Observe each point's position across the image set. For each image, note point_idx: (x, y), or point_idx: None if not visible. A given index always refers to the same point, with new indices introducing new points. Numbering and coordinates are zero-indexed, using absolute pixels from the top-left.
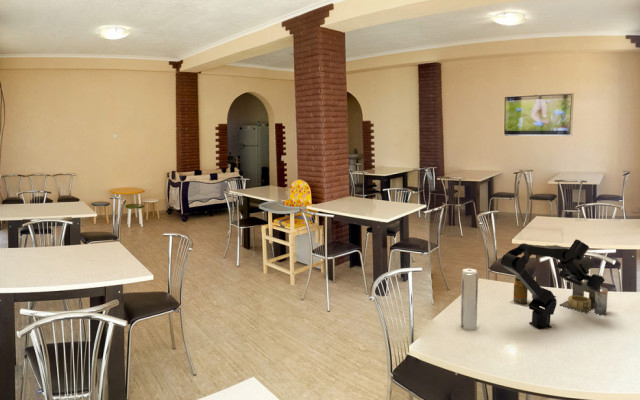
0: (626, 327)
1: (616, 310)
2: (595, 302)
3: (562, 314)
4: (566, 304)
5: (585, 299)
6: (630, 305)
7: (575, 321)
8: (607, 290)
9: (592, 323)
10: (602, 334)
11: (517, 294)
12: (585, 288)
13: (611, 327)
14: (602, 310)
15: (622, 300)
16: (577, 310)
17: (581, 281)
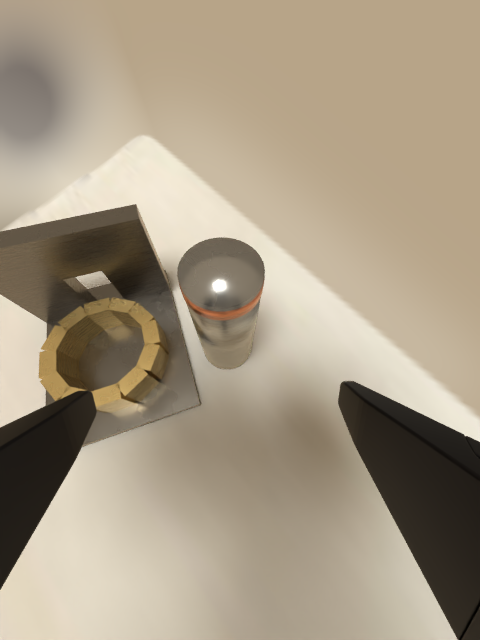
0: (386, 371)
1: None
2: (214, 349)
3: (146, 573)
4: None
5: (116, 314)
6: (213, 202)
7: (266, 588)
8: (259, 259)
9: (317, 495)
10: None
11: None
12: (67, 263)
13: None
14: (250, 348)
15: (171, 190)
16: (154, 420)
17: (2, 232)
